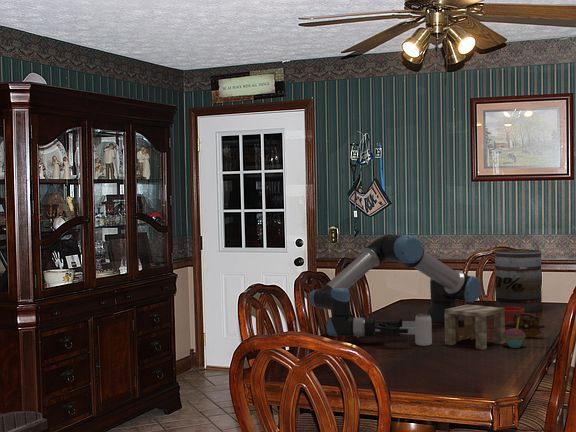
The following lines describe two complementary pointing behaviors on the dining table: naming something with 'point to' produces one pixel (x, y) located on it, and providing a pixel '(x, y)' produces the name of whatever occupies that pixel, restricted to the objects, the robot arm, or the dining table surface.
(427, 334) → the can
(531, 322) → the wooden carving
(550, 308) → the dining table surface
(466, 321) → the gate leg
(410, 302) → the dining table surface
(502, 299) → the barrel
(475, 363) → the dining table surface
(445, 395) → the dining table surface
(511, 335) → the cupcake
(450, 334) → the stool
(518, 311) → the flower pot
